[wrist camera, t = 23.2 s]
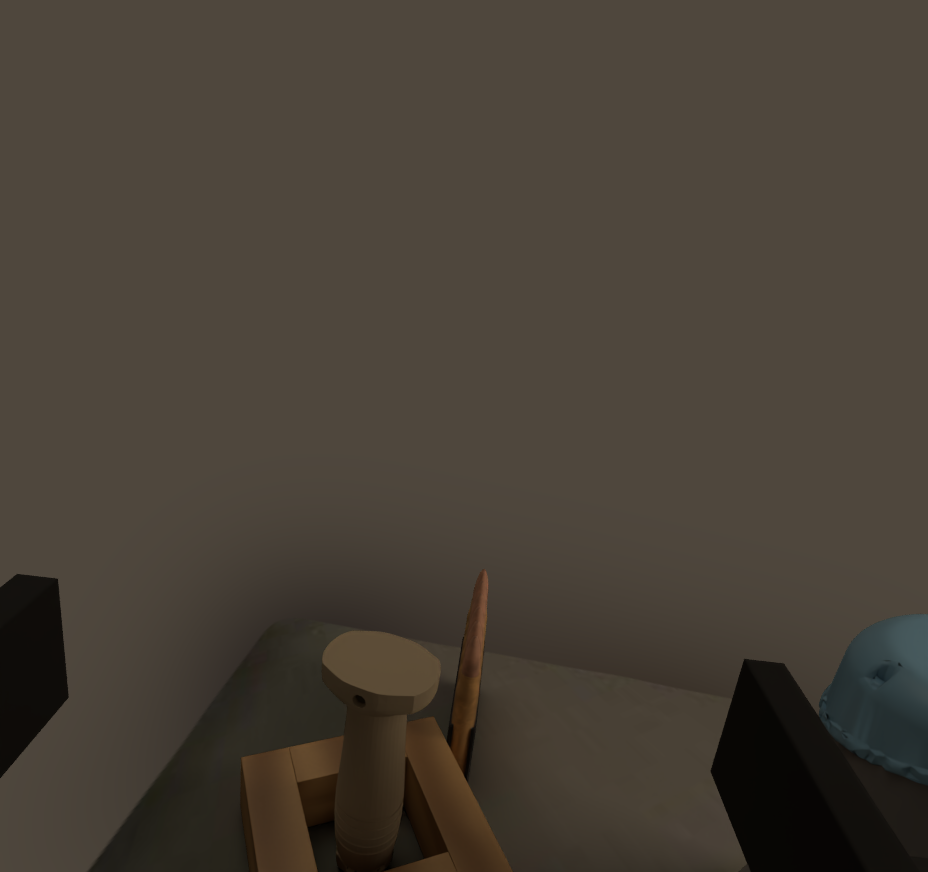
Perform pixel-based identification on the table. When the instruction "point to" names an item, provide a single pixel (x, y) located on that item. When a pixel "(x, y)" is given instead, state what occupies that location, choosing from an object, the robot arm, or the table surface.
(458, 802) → the rack
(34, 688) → the robot arm
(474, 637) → the ammunition clip
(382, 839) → the handle
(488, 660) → the table surface
